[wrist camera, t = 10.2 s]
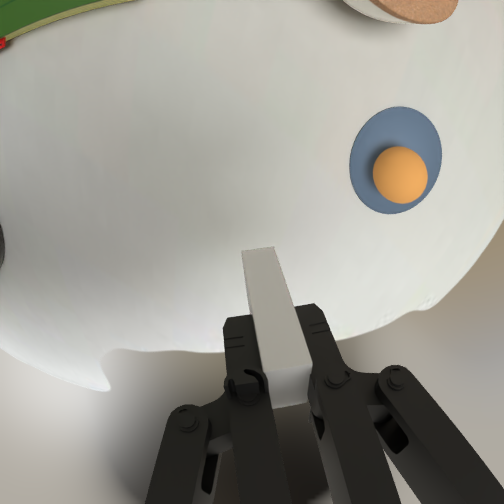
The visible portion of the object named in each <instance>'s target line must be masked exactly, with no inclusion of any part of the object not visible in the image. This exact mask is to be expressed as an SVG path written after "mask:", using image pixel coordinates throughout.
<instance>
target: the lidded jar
mask: <svg viewBox="0 0 504 504" xmlns="http://www.w3.org/2000/svg"><path fill="white" fill-rule="evenodd" d="M343 1H344V2H345V3H347V4H348V5H349V6H350V7H352V8H353V9H355V10H357V11H358V12H360V13H362V14H364V15H366V16H369V17H371V18H374V19H377V20H381V21H386V22H390V23H401V24H413V23H416V24H434V23H438V22H442V21H444V20H446V19H447V18H448V17H449V16H451V15H452V13H453V12H454V10H455V9H456V6H457V3H458V0H343Z"/></svg>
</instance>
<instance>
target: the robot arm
mask: <svg viewBox="0 0 504 504" xmlns="http://www.w3.org/2000/svg"><path fill="white" fill-rule="evenodd" d="M3 258H4V241H3V235H2V231H1V227H0V267H1V265H2V262H3ZM242 259H243V267H244V275H245V283H246V291H247V298H248V304H249V310H250V315H243V316H236V317H229V318H227V320H226V322H225V324H224V327H223V336H224V347H225V358H226V370H227V376H226V378H225V381H224V389H225V392H224V393H223V395H222V396H221V397H220V398H218V399H217V400H215V401H213V402H211V403H209V404H206V405H204V406H201V407H199V406H195V405H182V406H180V407H177V408H176V409H175V410H174V411H172V412H171V415H170V416H169V418H168V421H167V424H166V428H165V431H164V435H163V439H162V442H161V445H160V449H159V453H158V456H157V460H156V464H155V467H154V471H153V475H152V478H151V482H150V486H149V490H148V494H147V498H146V501H145V504H213V500H214V495H215V489H216V484H217V478H218V472H219V467H220V461H221V456H222V452H224V451H226V450H229V449H231V448H233V451H234V460H235V467H236V475H237V483H238V490H239V497H240V504H292V502H291V497H290V492H289V488H288V483H287V478H286V473H285V469H284V464H283V459H282V454H281V449H280V444H279V439H278V435H277V429H276V424H275V420H274V415H273V410H272V409H274V408H280V407H286V406H291V405H296V404H301V403H306V402H307V399H309V403H310V406H311V409H310V414H309V423H312V424H313V428H314V431H315V435H316V439H317V443H318V446H319V450H320V454H321V458H322V461H323V465H324V469H325V473H326V477H327V481H328V485H329V488H330V492H331V496H332V500H333V504H401V501H400V498H399V495H398V492H397V489H396V486H395V483H394V481H393V477H392V474H391V471H390V468H389V465H388V463H387V460H386V457H385V454H384V451H385V452H386V454H387V455H388V456H389V458H390V459H391V461H392V462H393V464H394V465H395V466H396V468H397V469H398V471H399V472H400V474H401V475H402V477H403V478H404V479H405V481H406V482H407V484H408V485H409V487H410V488H411V489H412V491H413V492H414V494H415V495H416V497H417V498H418V499H419V501H420V502H421V504H504V489H503V487H502V486H501V485H500V483H499V482H498V480H497V479H496V478H495V477H494V475H493V474H492V472H491V471H490V470H489V468H488V467H487V466H486V465H485V463H484V462H483V461H482V459H481V458H480V457H479V455H478V454H477V453H476V451H475V450H474V449H473V447H472V446H471V445H470V444H469V443H468V441H467V440H466V439H465V437H464V436H463V435H462V433H461V432H460V431H459V430H458V428H457V427H456V426H455V425H454V424H453V422H452V421H451V420H450V419H449V417H448V416H447V415H446V414H445V412H444V411H443V410H442V409H441V407H439V405H438V404H437V403H436V401H435V400H434V399H433V398H432V397H431V396H430V394H429V393H428V392H427V391H426V390H425V388H424V387H423V386H422V385H421V384H420V382H419V381H418V380H417V379H416V378H415V376H414V375H413V374H412V373H411V372H410V371H409V370H408V369H407V368H405V367H403V366H400V365H391V366H388V367H386V368H385V369H383V370H382V371H381V373H361V372H357V371H354V370H352V369H351V368H349V367H348V366H347V365H346V364H345V363H344V361H343V359H342V357H341V354H340V352H339V349H338V347H337V345H336V342H335V340H334V337H333V335H332V332H331V331H330V327H329V325H328V323H327V320H326V318H325V315H324V313H323V311H322V310H321V309H320V308H319V307H318V306H316V305H315V304H314V303H313V304H307V305H302V306H296V307H294V305H293V302H292V299H291V296H290V293H289V290H288V287H287V284H286V281H285V278H284V275H283V272H282V269H281V267H280V264H279V261H278V258H277V255H276V252H275V249H274V247H267V248H260V249H253V250H246V251H242ZM383 449H384V451H383Z"/></svg>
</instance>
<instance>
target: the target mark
mask: <svg viewBox="0 0 504 504" xmlns="http://www.w3.org/2000/svg"><path fill="white" fill-rule="evenodd" d="M396 146H401V147H406V148H409V149H411V150H413V151H414V152H416V153H417V154H418V155H419V156H420V157H421V158H422V160H423V161H424V163H425V166H426V169H427V175H428V180H427V185H426V188H425V190H424V192H423V193H422V194H421V196H420V197H419V198H417V199H416V200H414V201H412V202H410V203H405V204H400V203H395V202H392V201H390V200H388V199H386V198H385V197H384V196H383V195H382V194H381V193H380V192H379V191H378V189H377V187H376V185H375V183H374V179H373V167H374V164H375V161H376V159H377V158H378V156H379V155H380V154H381V153H382V152H383V151H385V150H386V149H388V148H391V147H396ZM441 161H442V148H441V142H440V138H439V135H438V133H437V131H436V129H435V127H434V125H433V124H432V123H431V121H430V120H429V119H428V118H427V117H426V116H425V115H423V114H422V113H420V112H419V111H417V110H414V109H411V108H407V107H393V108H389V109H386V110H383V111H381V112H379V113H378V114H376V115H375V116H373V117H372V118H371V119H370V120H369V121H368V122H367V123H366V124H365V125H364V126H363V128H362V129H361V131H360V132H359V134H358V136H357V138H356V140H355V142H354V145H353V148H352V152H351V156H350V176H351V181H352V185H353V187H354V190H355V192H356V194H357V195H358V197H359V198H360V199H361V201H362V202H363V203H364V204H365V205H367V206H368V207H369V208H371V209H372V210H374V211H377V212H380V213H383V214H396V213H401V212H404V211H407V210H409V209H411V208H413V207H414V206H416V205H417V204H418V203H420V202H421V201H422V200H423V199H424V198H425V197H426V196H427V195H428V193H429V192H430V191H431V189H432V188H433V186H434V184H435V182H436V180H437V177H438V175H439V171H440V167H441Z"/></svg>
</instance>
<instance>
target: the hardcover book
mask: <svg viewBox="0 0 504 504" xmlns="http://www.w3.org/2000/svg"><path fill="white" fill-rule="evenodd" d="M128 1H134V0H0V49H1V48H3V47H5V42H6V41H8V40H10V39H13V38H15V37H17V36H19V35H21V34H24V33H26V32H28V31H31V30H33V29H36V28H38V27H41V26H43V25H46V24H49V23H51V22H54V21H57V20H60V19H63V18H66V17H69V16H72V15H75V14H79V13H82V12H86V11H89V10H93V9H97V8H101V7H105V6H109V5H114V4H118V3H123V2H128Z"/></svg>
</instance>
